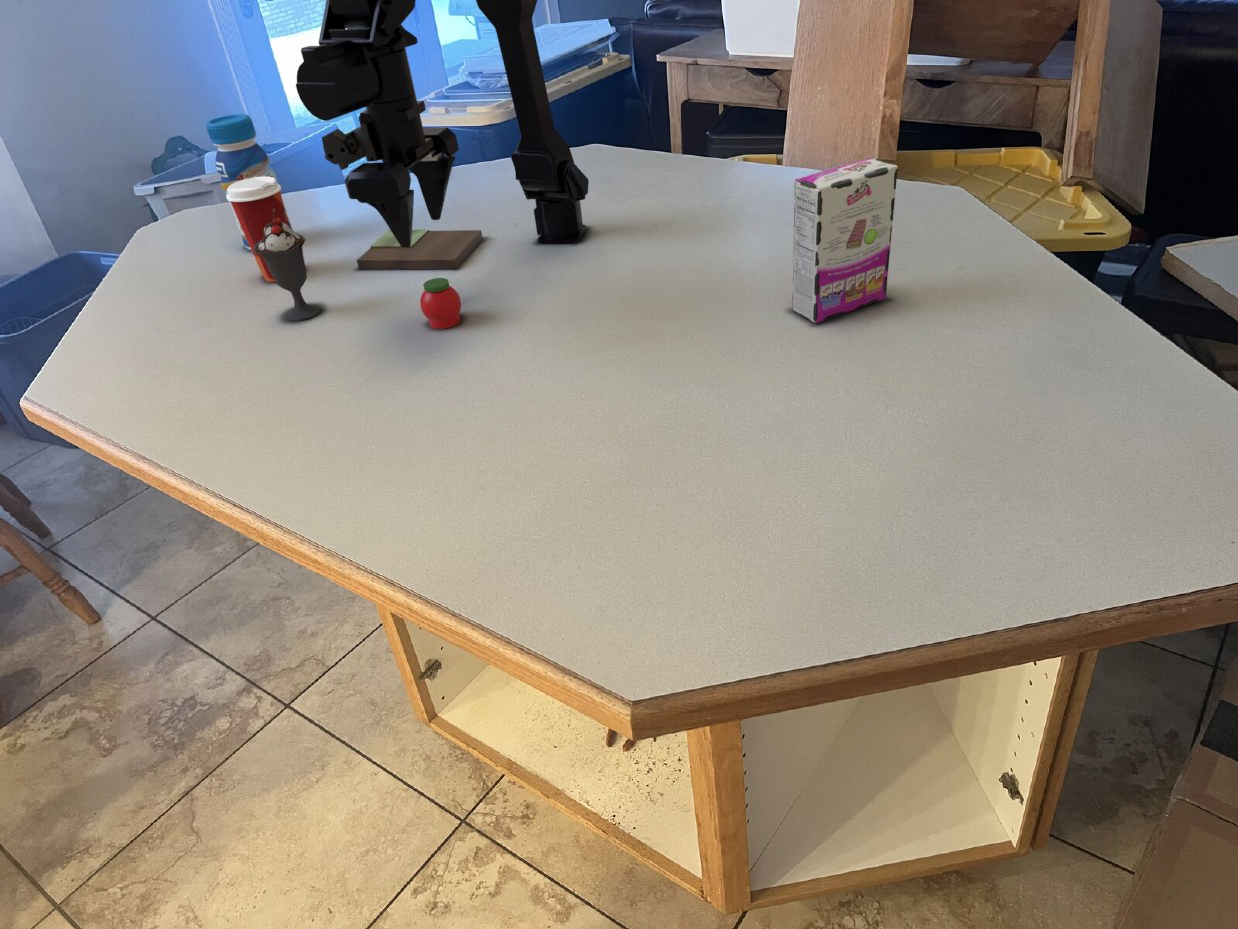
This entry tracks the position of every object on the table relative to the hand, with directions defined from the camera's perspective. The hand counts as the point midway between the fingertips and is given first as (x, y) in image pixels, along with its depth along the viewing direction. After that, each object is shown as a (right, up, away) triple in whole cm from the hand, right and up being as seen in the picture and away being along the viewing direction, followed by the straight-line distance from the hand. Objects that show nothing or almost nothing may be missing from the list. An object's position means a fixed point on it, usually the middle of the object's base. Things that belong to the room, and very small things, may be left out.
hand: (421, 232), depth 101 cm
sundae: (-20, -8, +13) cm, 25 cm away
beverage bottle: (-35, +9, +38) cm, 52 cm away
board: (-7, +5, +28) cm, 29 cm away
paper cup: (-28, +1, +26) cm, 38 cm away
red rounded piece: (+1, -10, +7) cm, 12 cm away
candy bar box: (+51, -9, +1) cm, 52 cm away
